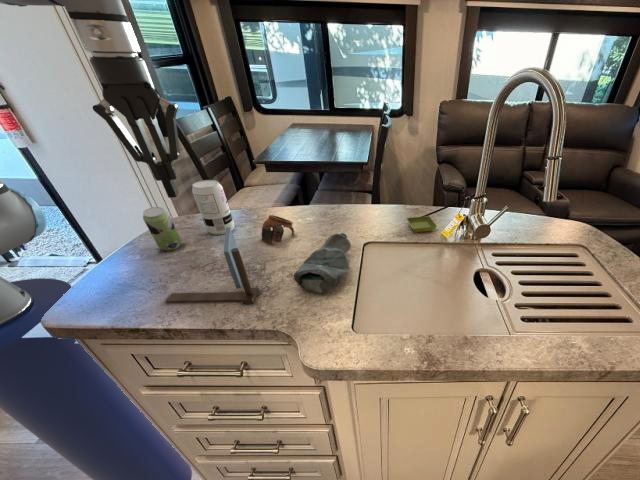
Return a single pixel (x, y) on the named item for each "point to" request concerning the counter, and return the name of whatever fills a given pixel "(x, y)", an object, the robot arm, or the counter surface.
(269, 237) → the brown piece
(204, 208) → the supplement can
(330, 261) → the grey soft lump
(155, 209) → the beverage can
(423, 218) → the green square dish
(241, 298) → the brown l-shaped stand
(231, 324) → the counter surface
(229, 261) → the door
